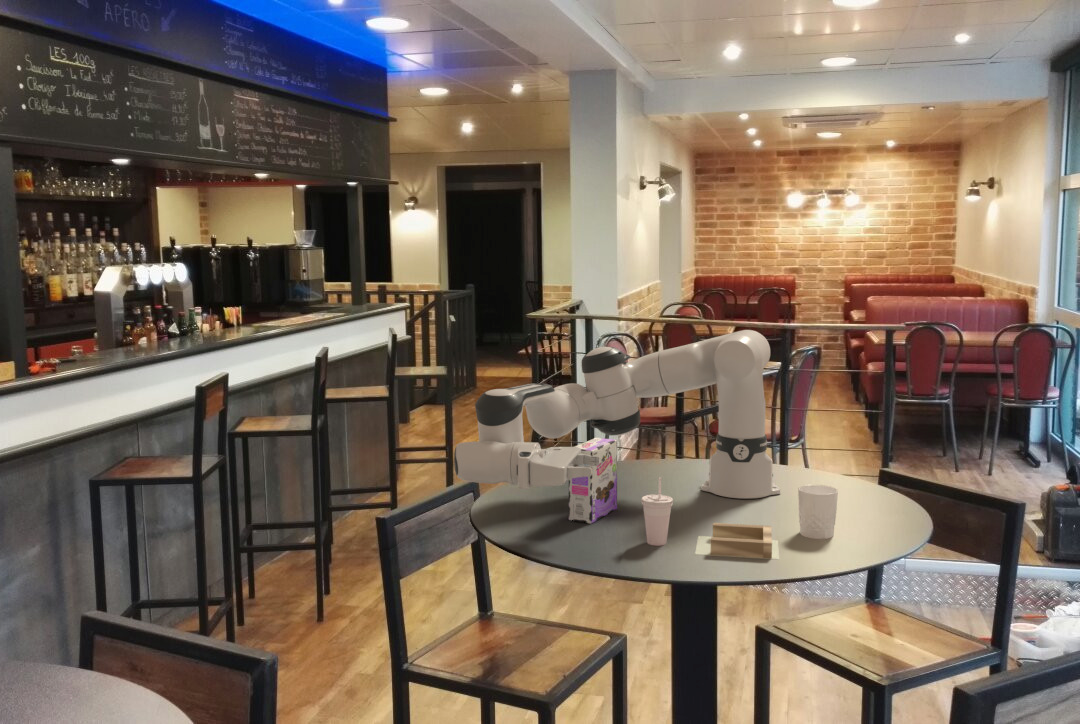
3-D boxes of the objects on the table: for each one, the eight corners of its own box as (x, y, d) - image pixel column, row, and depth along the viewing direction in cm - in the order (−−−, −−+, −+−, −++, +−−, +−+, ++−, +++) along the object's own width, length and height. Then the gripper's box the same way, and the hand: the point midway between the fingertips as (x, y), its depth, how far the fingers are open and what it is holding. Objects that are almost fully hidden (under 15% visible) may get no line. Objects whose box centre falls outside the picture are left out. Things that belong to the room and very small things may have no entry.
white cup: (806, 528, 213) (808, 482, 212) (842, 535, 208) (844, 488, 207) (790, 537, 207) (791, 490, 206) (826, 544, 202) (828, 496, 201)
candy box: (591, 524, 217) (591, 450, 215) (567, 521, 220) (567, 447, 217) (618, 509, 229) (618, 438, 227) (595, 505, 232) (595, 436, 229)
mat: (698, 538, 207) (698, 535, 207) (777, 542, 203) (777, 540, 203) (694, 556, 195) (694, 554, 195) (779, 561, 192) (779, 559, 192)
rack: (713, 537, 206) (713, 522, 205) (770, 540, 203) (771, 525, 203) (710, 554, 194) (710, 539, 194) (771, 558, 192) (772, 543, 192)
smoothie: (664, 551, 198) (665, 482, 196) (635, 546, 201) (635, 478, 200) (677, 543, 203) (678, 476, 202) (649, 538, 207) (649, 472, 205)
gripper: (540, 467, 216) (603, 469, 213) (518, 490, 196) (587, 493, 193) (540, 438, 215) (603, 440, 212) (517, 459, 196) (587, 461, 193)
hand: (595, 466), depth 203 cm, fingers open, 8 cm apart
